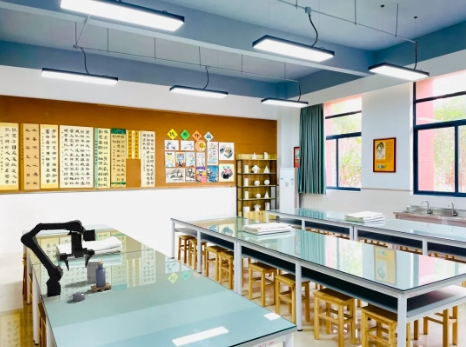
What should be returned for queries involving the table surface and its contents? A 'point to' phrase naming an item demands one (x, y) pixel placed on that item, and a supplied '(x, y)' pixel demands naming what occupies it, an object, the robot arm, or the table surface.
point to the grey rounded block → (78, 296)
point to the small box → (92, 270)
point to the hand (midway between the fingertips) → (77, 269)
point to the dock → (100, 287)
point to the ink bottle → (100, 275)
